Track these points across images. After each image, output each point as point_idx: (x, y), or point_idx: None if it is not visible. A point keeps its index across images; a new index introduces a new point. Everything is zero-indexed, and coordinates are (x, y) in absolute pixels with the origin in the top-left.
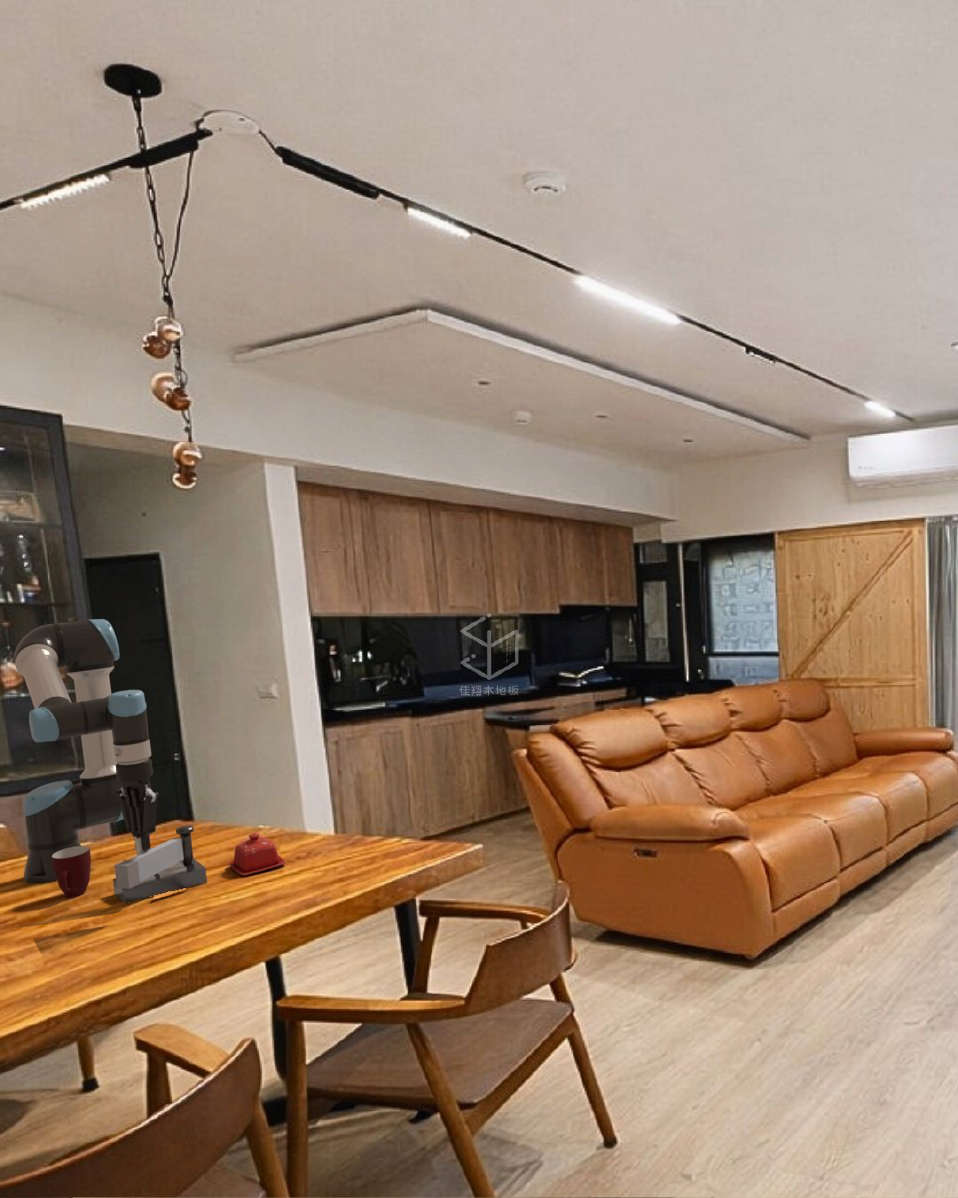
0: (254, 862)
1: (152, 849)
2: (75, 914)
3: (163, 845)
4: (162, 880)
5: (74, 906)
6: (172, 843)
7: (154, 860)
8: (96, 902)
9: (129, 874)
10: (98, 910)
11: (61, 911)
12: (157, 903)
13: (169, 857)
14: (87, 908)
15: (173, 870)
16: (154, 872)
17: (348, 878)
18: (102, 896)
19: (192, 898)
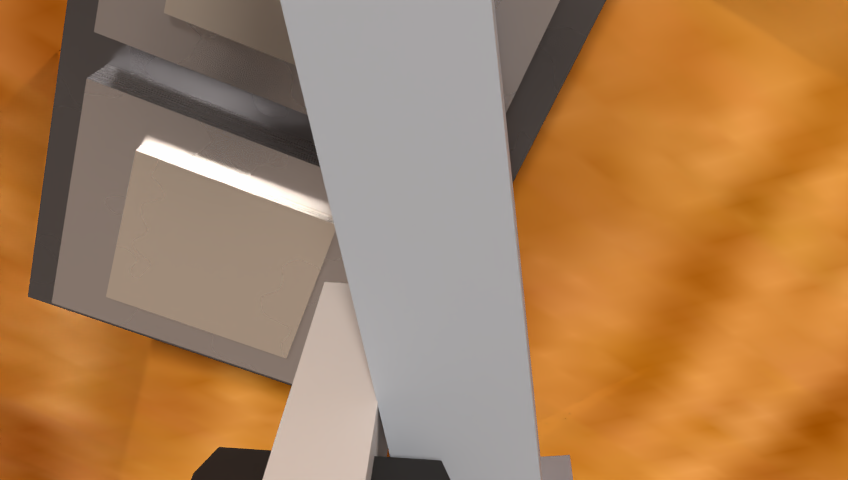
0: None
1: (425, 402)
2: (164, 453)
3: (443, 232)
4: (519, 164)
5: (27, 394)
6: (496, 69)
7: (530, 370)
8: (88, 320)
9: None
10: (238, 387)
11: (40, 452)
12: (550, 197)
13: (503, 102)
14: (138, 389)
15: (526, 30)
16: (524, 301)
17: None
18: (10, 247)
19: (796, 25)
